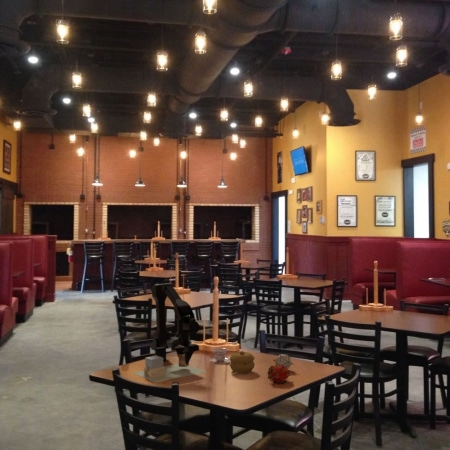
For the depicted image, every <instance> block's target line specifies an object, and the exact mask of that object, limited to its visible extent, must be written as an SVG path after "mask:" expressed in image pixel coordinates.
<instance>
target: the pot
mask: <svg viewBox="0 0 450 450" xmlns="http://www.w3.org/2000/svg"><path fill="white" fill-rule="evenodd" d="M229 359H230V361H231V362H230V363H229V367H230V369H231V371H233V372H234V373H235V374H239V375H240V374H241V375H242V374H249V373H251V372H252V371H253V369H254V368H255V366H256V365H255V364H256V363H255V362H254V360H255V356H254V354H252V353H251V352H248V351H244V350H241V351H238V352H234V353H232V354H231V355H230V356H229Z"/></svg>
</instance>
